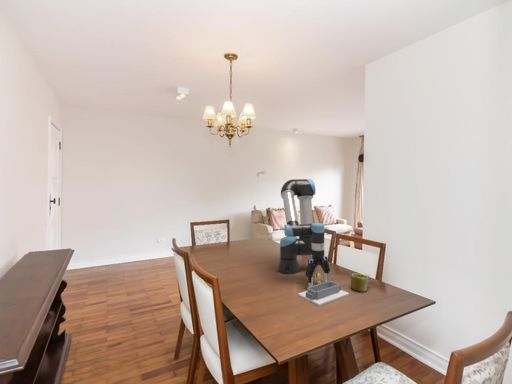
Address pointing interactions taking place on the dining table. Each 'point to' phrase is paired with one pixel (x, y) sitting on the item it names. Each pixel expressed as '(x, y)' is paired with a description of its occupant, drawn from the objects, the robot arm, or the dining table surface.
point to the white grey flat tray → (323, 293)
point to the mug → (359, 282)
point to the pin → (317, 278)
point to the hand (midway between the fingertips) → (318, 285)
